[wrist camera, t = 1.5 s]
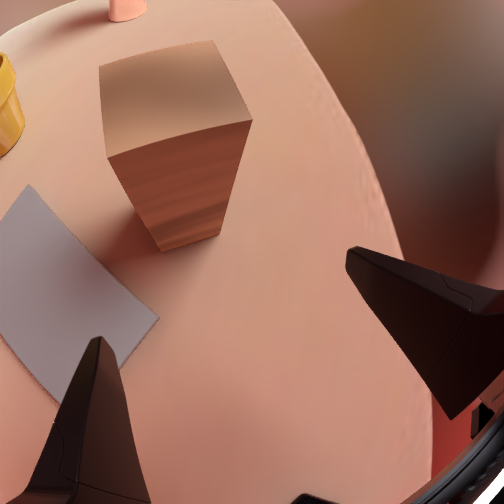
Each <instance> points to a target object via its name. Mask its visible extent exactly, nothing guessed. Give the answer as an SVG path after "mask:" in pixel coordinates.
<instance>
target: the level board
mask: <svg viewBox="0 0 504 504" xmlns="http://www.w3.org/2000/svg"><path fill="white" fill-rule="evenodd" d="M159 318H160V317H159V316H158V315H157V314H155V313H154V312H153V311H152V310H151V309H150V308H149V307H147V306H146V305H145V304H144V303H143V302H142V301H141V300H139V299H138V298H137V297H136V296H135V295H134V294H133V293H132V292H131V291H129V290H128V289H127V288H126V287H125V286H124V285H123V284H122V283H121V282H120V281H119V280H118V279H117V278H116V277H115V276H113V275H112V274H111V273H110V272H109V271H108V270H107V269H106V268H105V267H104V266H103V265H102V264H101V263H100V262H99V261H98V260H97V259H96V258H95V257H94V256H93V255H92V254H91V253H90V252H89V251H88V250H87V249H86V248H85V247H84V246H83V244H82V243H81V242H80V241H79V240H78V239H77V238H76V237H75V236H74V235H73V234H72V233H71V232H70V231H69V229H68V228H67V227H66V226H65V225H64V224H63V223H62V222H61V221H60V219H59V218H58V217H57V216H56V215H55V214H54V213H53V211H52V210H51V209H50V208H49V207H48V206H47V204H46V203H45V202H44V201H43V200H42V198H41V197H40V196H39V195H38V193H37V192H36V191H35V190H34V189H33V188H32V187H31V186H30V185H29V184H28V185H27V186H26V188H25V189H24V190H23V191H22V193H21V194H20V195H19V197H18V198H17V199H16V200H15V202H14V203H13V204H12V206H11V207H10V209H9V210H8V211H7V213H6V214H5V216H4V217H3V219H2V220H1V221H0V334H1V335H2V337H3V338H4V340H5V341H6V342H7V344H8V345H9V346H10V348H11V349H12V350H13V352H14V353H15V354H16V355H17V357H18V358H19V359H20V360H21V362H22V363H23V364H24V365H25V366H26V368H27V369H28V370H29V371H30V372H31V374H32V375H33V376H34V377H35V378H36V379H37V380H38V381H39V383H40V384H41V385H42V386H43V387H44V388H45V389H46V390H47V391H48V392H49V393H50V394H51V395H52V396H53V397H54V398H55V399H56V400H57V401H58V402H59V403H60V404H61V403H62V400H63V398H64V395H65V393H66V391H67V388H68V386H69V384H70V381H71V379H72V377H73V375H74V373H75V370H76V368H77V366H78V364H79V362H80V360H81V358H82V356H83V353H84V351H85V349H86V347H87V345H88V343H89V341H90V340H91V339H92V338H94V337H97V336H103V337H104V338H105V340H106V341H107V342H108V344H109V345H110V346H111V348H112V349H113V351H114V353H115V355H116V360H117V364H118V368H119V370H120V368H121V367H122V366H123V364H124V363H125V362H126V360H127V359H128V358H129V357H130V355H131V354H132V353H133V351H134V350H135V349H136V348H137V346H138V345H139V344H140V342H141V341H142V340H143V339H144V337H145V336H146V335H147V333H148V332H149V331H150V330H151V328H152V327H153V326H154V325H155V323H156V322H157V321H158V319H159Z"/></svg>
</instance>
